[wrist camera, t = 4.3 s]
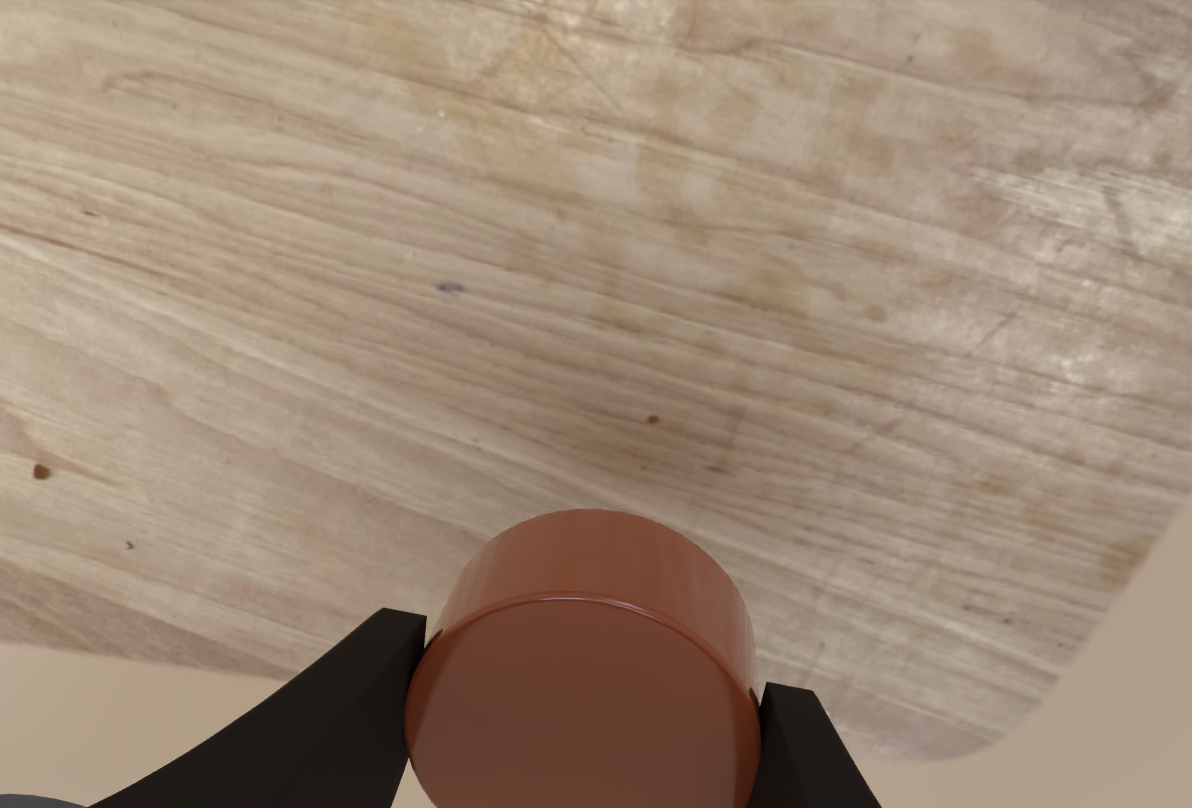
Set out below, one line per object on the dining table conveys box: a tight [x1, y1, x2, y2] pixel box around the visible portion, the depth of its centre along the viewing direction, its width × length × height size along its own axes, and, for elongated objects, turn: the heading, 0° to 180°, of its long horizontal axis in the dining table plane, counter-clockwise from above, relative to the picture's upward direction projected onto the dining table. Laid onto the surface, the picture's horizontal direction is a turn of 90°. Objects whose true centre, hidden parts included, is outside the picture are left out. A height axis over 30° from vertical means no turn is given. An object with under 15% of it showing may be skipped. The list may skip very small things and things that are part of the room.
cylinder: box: [404, 509, 763, 808], centre depth 12 cm, size 5×5×2 cm
